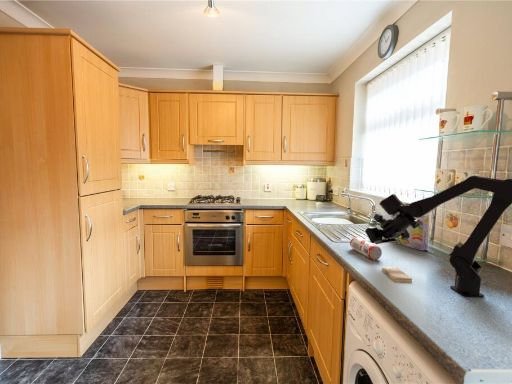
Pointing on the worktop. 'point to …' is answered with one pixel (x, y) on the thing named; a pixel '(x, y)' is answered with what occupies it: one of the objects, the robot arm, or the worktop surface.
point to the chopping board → (396, 274)
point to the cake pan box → (416, 234)
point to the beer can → (366, 248)
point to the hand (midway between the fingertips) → (375, 243)
